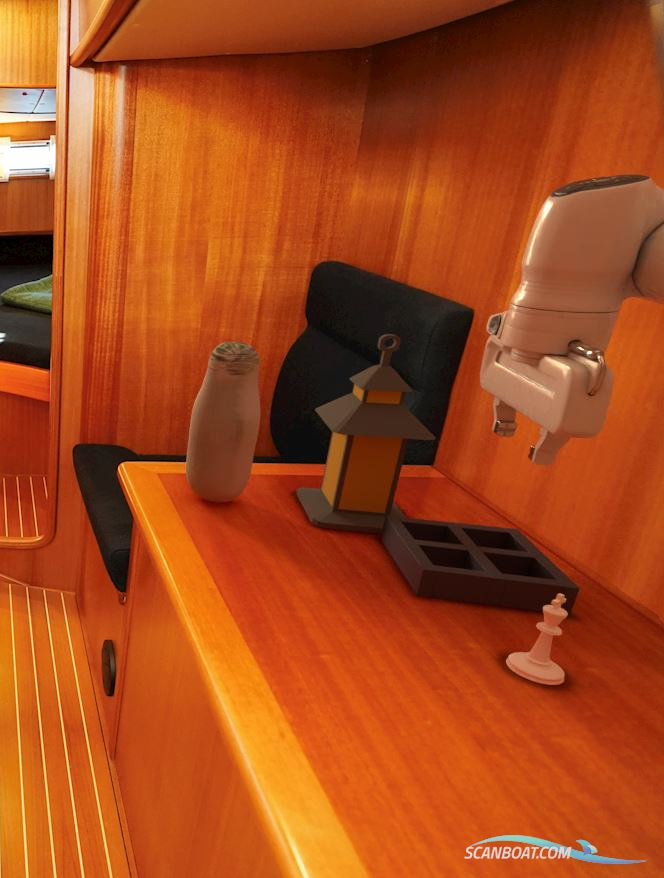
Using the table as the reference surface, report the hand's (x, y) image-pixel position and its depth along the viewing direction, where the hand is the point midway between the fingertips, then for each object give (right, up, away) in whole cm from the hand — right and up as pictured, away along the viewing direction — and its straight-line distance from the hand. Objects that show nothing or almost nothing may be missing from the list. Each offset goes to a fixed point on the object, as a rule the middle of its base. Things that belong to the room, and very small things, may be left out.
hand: (520, 448), depth 82 cm
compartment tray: (+7, -18, +16) cm, 25 cm away
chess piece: (-1, -25, -3) cm, 26 cm away
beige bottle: (-17, -10, +41) cm, 45 cm away
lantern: (+3, -11, +34) cm, 36 cm away
